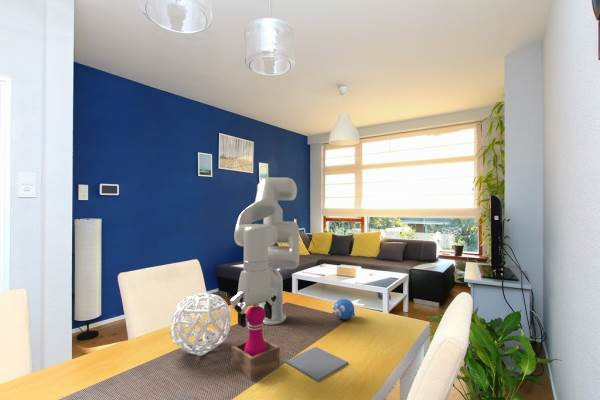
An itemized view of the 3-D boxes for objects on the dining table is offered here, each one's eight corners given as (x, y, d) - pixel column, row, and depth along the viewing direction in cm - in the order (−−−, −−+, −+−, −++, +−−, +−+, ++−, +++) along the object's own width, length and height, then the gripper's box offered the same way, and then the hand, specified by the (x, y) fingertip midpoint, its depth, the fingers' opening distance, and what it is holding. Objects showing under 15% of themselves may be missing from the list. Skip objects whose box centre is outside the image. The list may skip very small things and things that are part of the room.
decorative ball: (212, 371, 92) (213, 307, 92) (155, 363, 96) (156, 302, 96) (241, 341, 111) (241, 289, 111) (192, 335, 116) (192, 285, 116)
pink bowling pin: (262, 374, 90) (263, 306, 91) (239, 371, 92) (240, 304, 92) (270, 361, 98) (270, 298, 98) (248, 359, 99) (248, 297, 99)
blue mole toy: (322, 319, 133) (322, 299, 133) (339, 312, 141) (339, 294, 141) (343, 327, 124) (343, 307, 124) (361, 320, 132) (361, 300, 132)
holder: (231, 365, 95) (231, 346, 95) (259, 354, 102) (259, 336, 102) (251, 380, 87) (251, 359, 87) (279, 366, 95) (279, 347, 95)
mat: (285, 362, 97) (285, 361, 97) (315, 348, 106) (315, 346, 106) (317, 382, 87) (317, 379, 87) (348, 363, 96) (348, 362, 96)
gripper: (270, 261, 103) (269, 312, 103) (224, 268, 91) (224, 325, 91) (284, 264, 98) (284, 318, 98) (238, 271, 86) (237, 333, 86)
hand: (255, 321), depth 94 cm, fingers open, 9 cm apart
